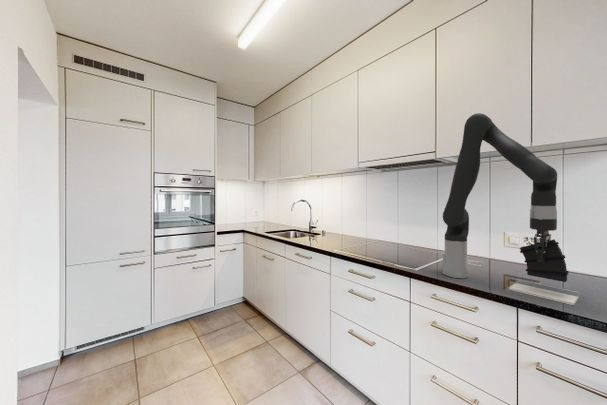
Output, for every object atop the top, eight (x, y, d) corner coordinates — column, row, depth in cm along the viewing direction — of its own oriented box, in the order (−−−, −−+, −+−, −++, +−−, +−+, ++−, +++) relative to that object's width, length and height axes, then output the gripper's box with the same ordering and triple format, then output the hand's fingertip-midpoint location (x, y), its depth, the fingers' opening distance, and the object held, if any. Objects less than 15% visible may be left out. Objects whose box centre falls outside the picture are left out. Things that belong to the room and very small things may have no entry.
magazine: (579, 280, 87) (553, 240, 92) (533, 286, 97) (513, 249, 101) (580, 278, 89) (555, 238, 94) (535, 284, 99) (515, 248, 104)
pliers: (481, 264, 132) (450, 259, 143) (481, 267, 132) (450, 262, 143) (484, 260, 139) (454, 256, 150) (484, 263, 139) (454, 258, 150)
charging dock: (508, 289, 100) (508, 284, 100) (516, 284, 106) (516, 278, 106) (573, 305, 86) (573, 298, 86) (578, 298, 92) (578, 292, 92)
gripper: (534, 215, 102) (534, 256, 103) (524, 217, 94) (524, 262, 95) (560, 216, 96) (559, 260, 97) (552, 219, 88) (551, 266, 89)
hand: (542, 261), depth 96 cm, fingers closed on magazine, 3 cm apart
